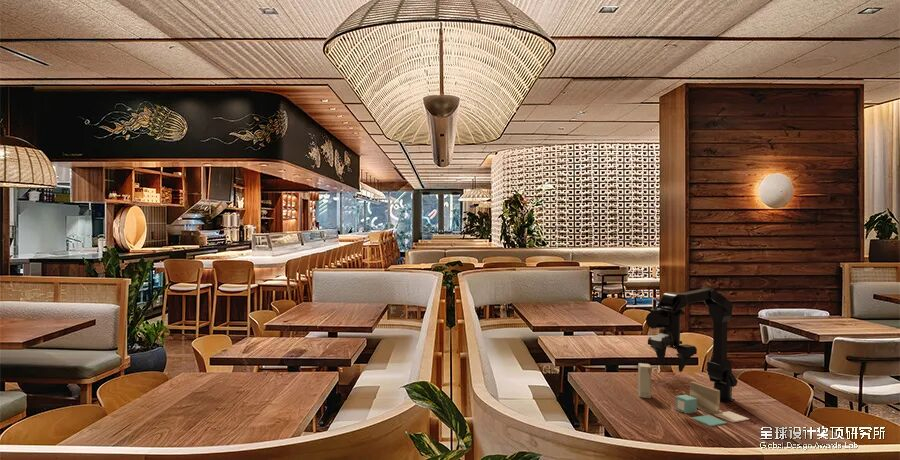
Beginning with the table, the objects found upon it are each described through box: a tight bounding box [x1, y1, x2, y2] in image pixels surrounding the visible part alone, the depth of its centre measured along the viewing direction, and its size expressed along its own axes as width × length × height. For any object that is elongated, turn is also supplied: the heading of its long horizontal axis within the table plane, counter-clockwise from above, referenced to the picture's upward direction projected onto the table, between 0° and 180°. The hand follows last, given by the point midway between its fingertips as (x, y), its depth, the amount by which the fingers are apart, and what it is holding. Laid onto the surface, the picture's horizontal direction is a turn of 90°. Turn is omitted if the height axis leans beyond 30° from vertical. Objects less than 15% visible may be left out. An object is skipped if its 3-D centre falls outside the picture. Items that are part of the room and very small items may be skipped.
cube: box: [675, 394, 697, 414], centre depth 203 cm, size 5×5×5 cm
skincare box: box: [637, 362, 652, 399], centre depth 220 cm, size 6×4×12 cm
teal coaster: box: [691, 414, 728, 427], centre depth 193 cm, size 8×8×1 cm
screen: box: [689, 381, 724, 416], centre depth 205 cm, size 4×13×8 cm, turn 24°
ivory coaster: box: [713, 410, 750, 423], centre depth 197 cm, size 8×8×1 cm
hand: (670, 368), depth 206 cm, fingers open, 9 cm apart
